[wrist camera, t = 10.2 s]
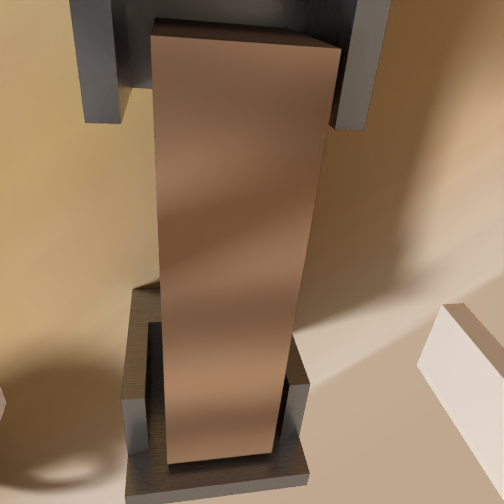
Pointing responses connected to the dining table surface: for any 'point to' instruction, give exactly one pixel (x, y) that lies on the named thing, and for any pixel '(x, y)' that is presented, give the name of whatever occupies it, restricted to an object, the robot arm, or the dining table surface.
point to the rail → (233, 220)
